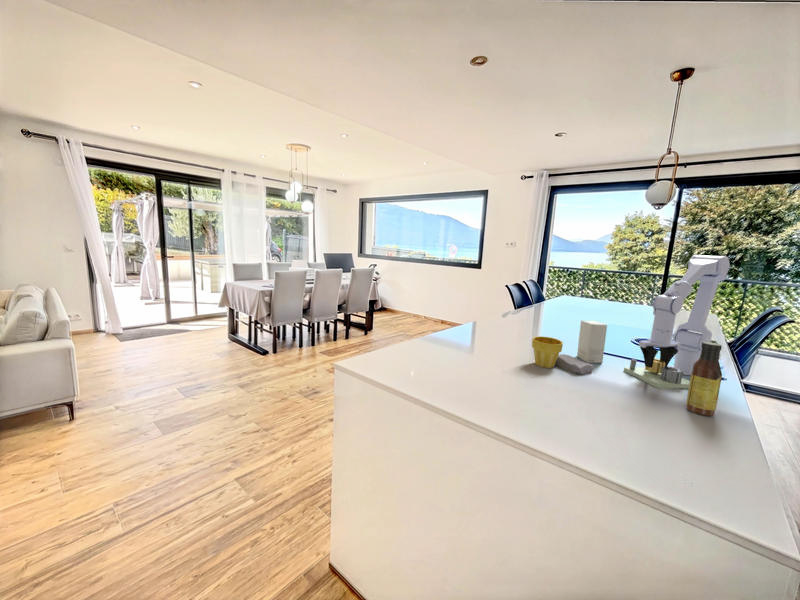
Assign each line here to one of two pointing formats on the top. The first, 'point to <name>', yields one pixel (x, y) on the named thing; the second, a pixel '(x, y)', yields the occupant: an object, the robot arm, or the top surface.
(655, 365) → the brass gear
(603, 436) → the top surface
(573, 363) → the stone block
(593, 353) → the skincare box
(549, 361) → the plant pot
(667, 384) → the gear board
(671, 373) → the steel gear
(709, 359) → the sauce bottle
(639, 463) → the top surface
